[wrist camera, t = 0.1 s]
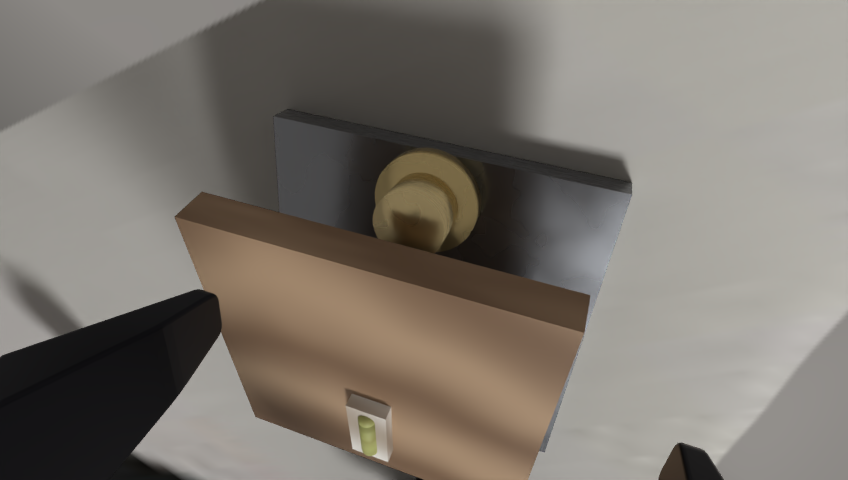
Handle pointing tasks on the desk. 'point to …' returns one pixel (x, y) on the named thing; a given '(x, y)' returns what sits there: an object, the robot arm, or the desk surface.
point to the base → (510, 202)
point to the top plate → (386, 341)
